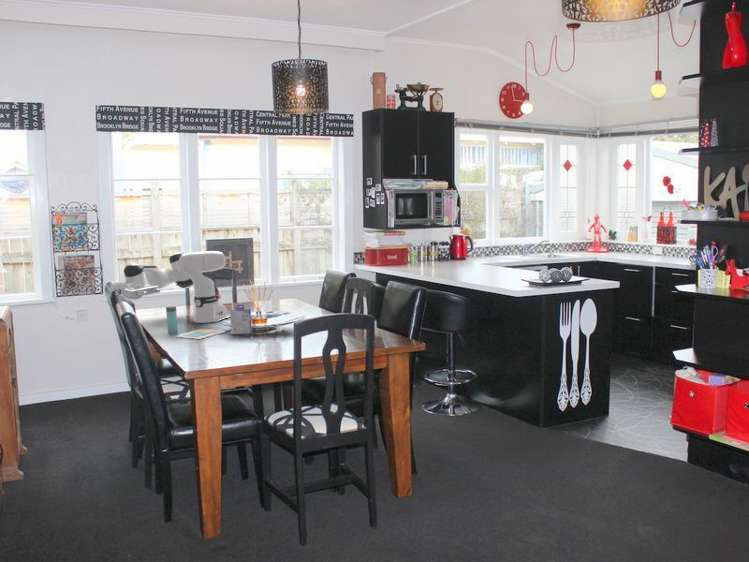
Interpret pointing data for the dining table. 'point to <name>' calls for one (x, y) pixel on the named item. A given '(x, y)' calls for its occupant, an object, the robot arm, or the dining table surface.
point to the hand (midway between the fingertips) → (152, 292)
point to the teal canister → (171, 320)
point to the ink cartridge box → (240, 320)
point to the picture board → (200, 334)
